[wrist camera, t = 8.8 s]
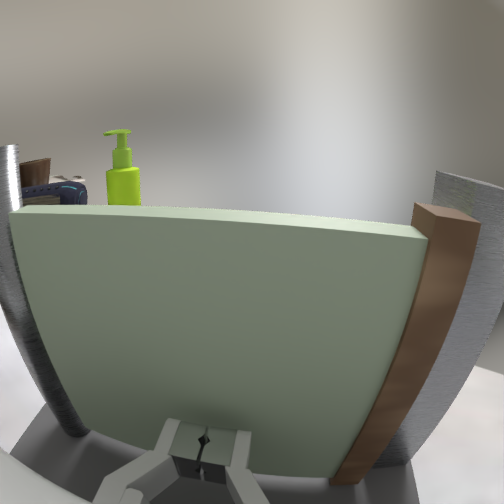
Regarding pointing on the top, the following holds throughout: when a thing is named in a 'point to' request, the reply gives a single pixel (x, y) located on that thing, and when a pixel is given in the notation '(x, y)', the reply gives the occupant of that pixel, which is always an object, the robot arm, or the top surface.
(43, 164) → the plant pot
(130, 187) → the soap dispenser
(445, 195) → the gate frame
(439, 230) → the gate leaf
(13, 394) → the top surface
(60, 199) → the portable speaker
